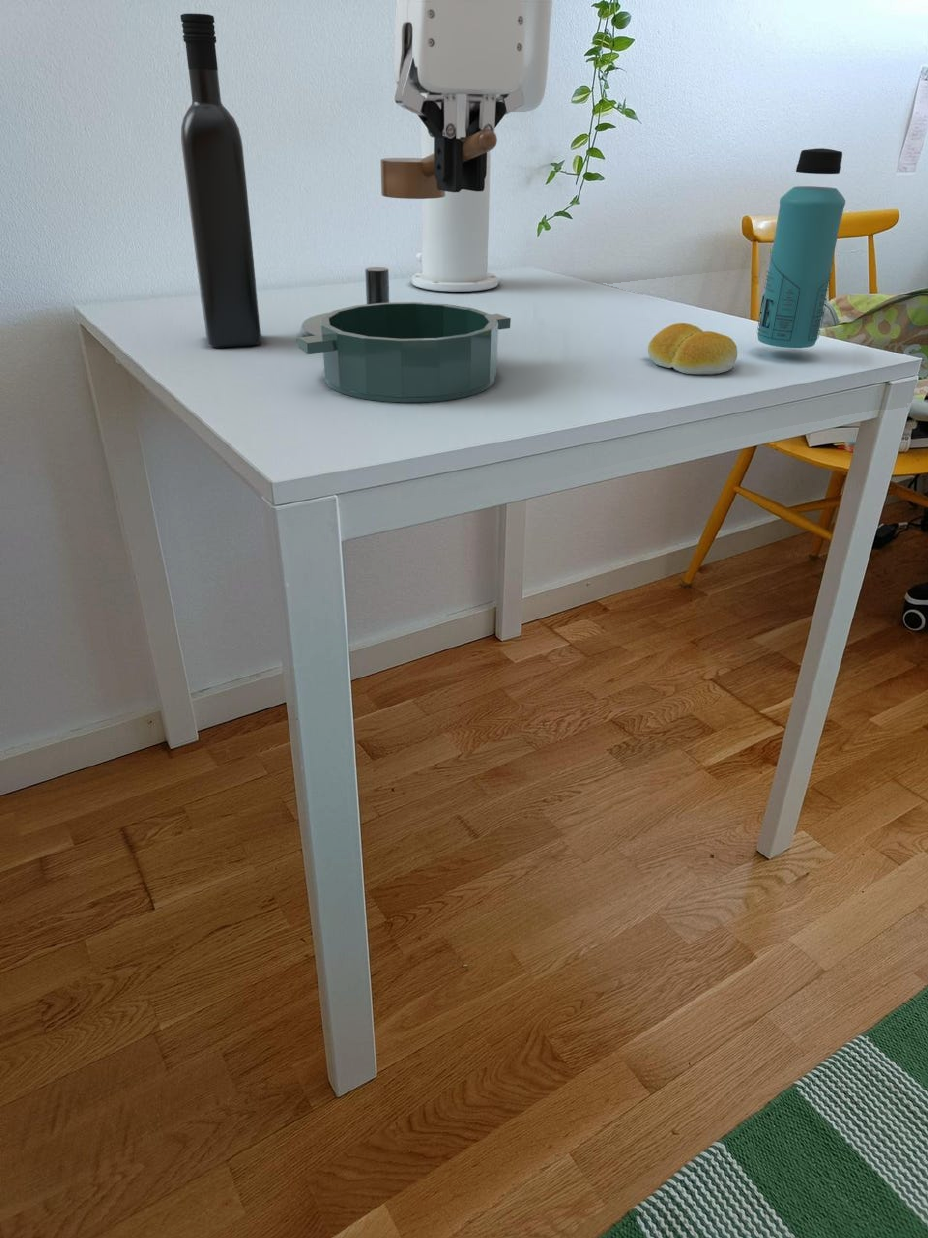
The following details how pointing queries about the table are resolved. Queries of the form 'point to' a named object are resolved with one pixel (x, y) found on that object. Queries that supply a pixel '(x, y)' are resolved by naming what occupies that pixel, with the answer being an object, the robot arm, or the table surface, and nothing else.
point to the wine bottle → (217, 198)
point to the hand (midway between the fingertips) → (460, 188)
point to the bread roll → (692, 350)
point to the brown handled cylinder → (426, 170)
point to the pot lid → (374, 294)
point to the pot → (408, 351)
